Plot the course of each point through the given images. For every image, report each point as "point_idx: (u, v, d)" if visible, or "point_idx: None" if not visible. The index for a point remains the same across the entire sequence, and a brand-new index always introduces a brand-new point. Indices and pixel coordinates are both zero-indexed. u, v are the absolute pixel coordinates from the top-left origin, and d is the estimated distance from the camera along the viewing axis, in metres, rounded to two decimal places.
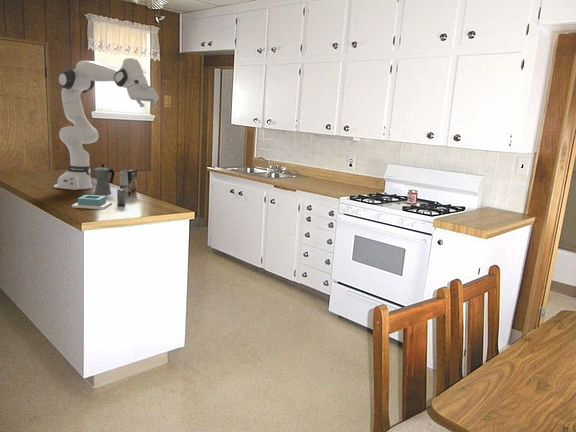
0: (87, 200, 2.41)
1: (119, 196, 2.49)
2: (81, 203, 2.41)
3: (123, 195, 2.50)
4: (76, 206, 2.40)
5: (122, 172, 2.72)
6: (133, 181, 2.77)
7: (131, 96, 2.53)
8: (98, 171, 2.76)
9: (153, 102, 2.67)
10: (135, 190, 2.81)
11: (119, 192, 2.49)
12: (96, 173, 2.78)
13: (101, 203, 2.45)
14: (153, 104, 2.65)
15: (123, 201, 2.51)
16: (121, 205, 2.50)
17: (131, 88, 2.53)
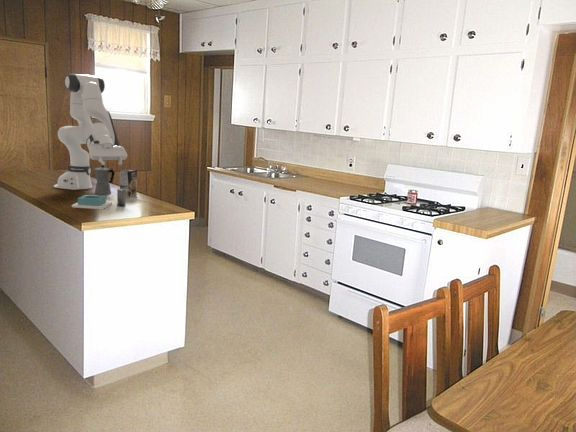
0: (87, 200, 2.41)
1: (119, 196, 2.49)
2: (81, 203, 2.41)
3: (123, 195, 2.50)
4: (76, 206, 2.40)
5: (122, 172, 2.72)
6: (133, 181, 2.77)
7: (90, 156, 2.51)
8: (98, 171, 2.76)
9: (120, 159, 2.61)
10: (135, 190, 2.81)
11: (119, 192, 2.49)
12: (96, 173, 2.78)
13: (101, 203, 2.45)
14: (119, 161, 2.59)
15: (123, 201, 2.51)
16: (121, 205, 2.50)
17: (90, 149, 2.52)
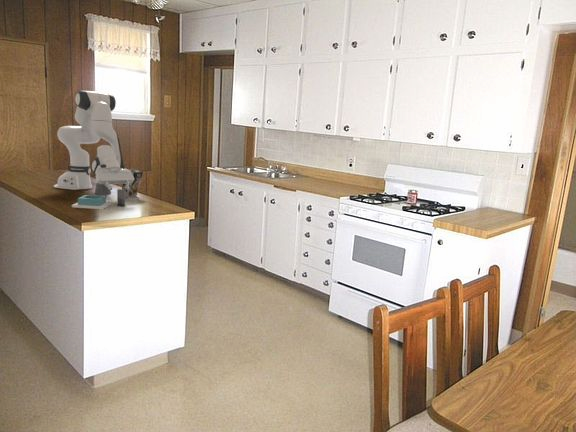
0: (87, 200, 2.41)
1: (119, 196, 2.49)
2: (81, 203, 2.41)
3: (123, 195, 2.50)
4: (76, 206, 2.40)
5: None
6: (136, 182, 2.76)
7: (97, 181, 2.47)
8: None
9: (127, 183, 2.57)
10: (136, 190, 2.81)
11: (119, 192, 2.49)
12: None
13: (101, 203, 2.45)
14: None
15: (123, 201, 2.51)
16: (121, 205, 2.50)
17: (97, 173, 2.48)
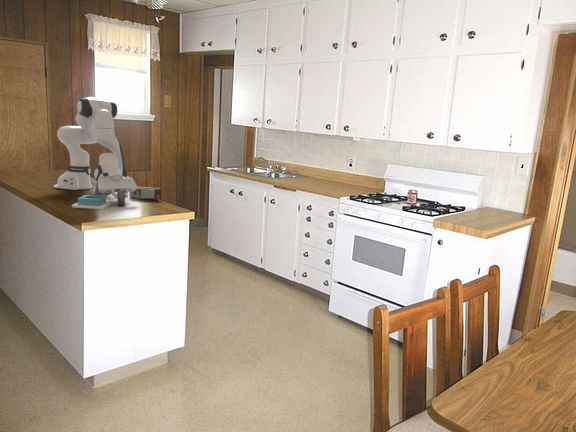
0: (87, 200, 2.41)
1: (119, 196, 2.49)
2: (81, 203, 2.41)
3: (123, 195, 2.50)
4: (76, 206, 2.40)
5: (153, 193, 2.71)
6: None
7: (99, 189, 2.46)
8: None
9: None
10: None
11: (119, 192, 2.49)
12: None
13: (101, 203, 2.45)
14: None
15: (123, 201, 2.51)
16: (121, 205, 2.50)
17: (99, 181, 2.47)
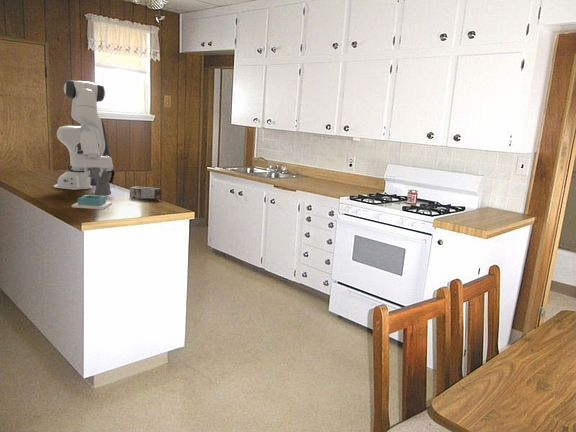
0: (87, 200, 2.41)
1: (91, 174, 2.42)
2: (81, 203, 2.41)
3: (95, 174, 2.43)
4: (76, 206, 2.40)
5: (153, 193, 2.71)
6: None
7: (72, 167, 2.42)
8: (98, 171, 2.76)
9: None
10: None
11: (91, 170, 2.42)
12: None
13: (101, 203, 2.45)
14: (98, 173, 2.45)
15: (95, 180, 2.44)
16: (93, 184, 2.43)
17: (73, 159, 2.42)
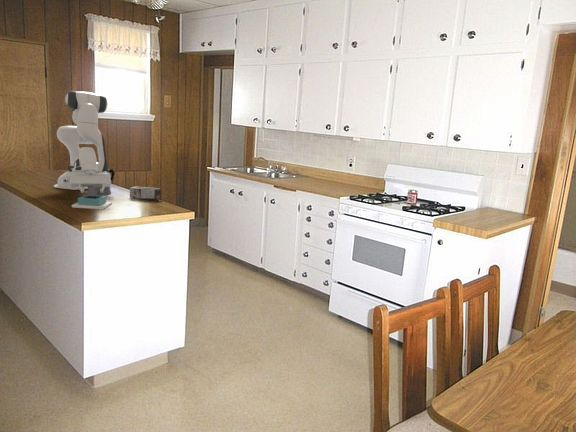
0: (87, 200, 2.41)
1: (89, 193, 2.44)
2: (81, 203, 2.41)
3: (93, 192, 2.44)
4: (76, 206, 2.40)
5: (153, 193, 2.71)
6: None
7: (70, 183, 2.43)
8: None
9: None
10: None
11: (89, 189, 2.44)
12: None
13: (101, 203, 2.45)
14: (100, 189, 2.47)
15: (93, 198, 2.45)
16: None
17: (71, 175, 2.44)
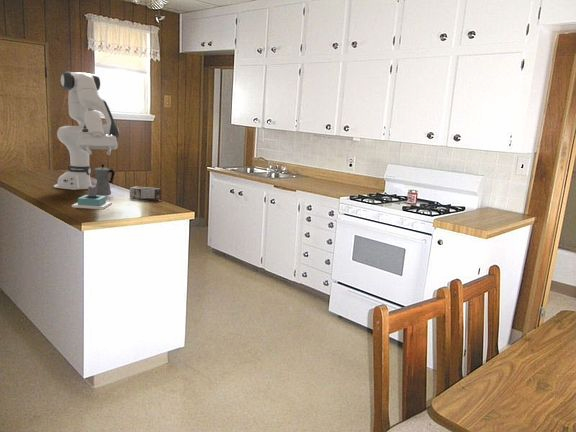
0: (87, 200, 2.41)
1: (89, 193, 2.44)
2: (81, 203, 2.41)
3: (93, 192, 2.44)
4: (76, 206, 2.40)
5: (153, 193, 2.71)
6: None
7: (78, 145, 2.44)
8: (98, 171, 2.76)
9: (109, 149, 2.52)
10: None
11: (89, 189, 2.44)
12: (96, 173, 2.78)
13: (101, 203, 2.45)
14: (107, 151, 2.49)
15: (93, 198, 2.45)
16: None
17: (78, 137, 2.45)
